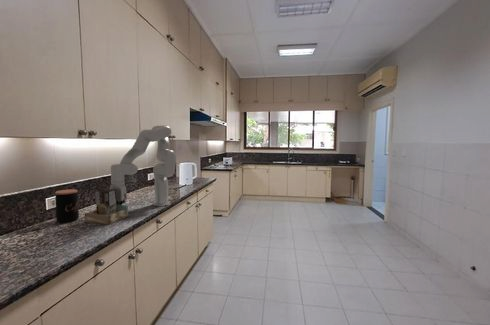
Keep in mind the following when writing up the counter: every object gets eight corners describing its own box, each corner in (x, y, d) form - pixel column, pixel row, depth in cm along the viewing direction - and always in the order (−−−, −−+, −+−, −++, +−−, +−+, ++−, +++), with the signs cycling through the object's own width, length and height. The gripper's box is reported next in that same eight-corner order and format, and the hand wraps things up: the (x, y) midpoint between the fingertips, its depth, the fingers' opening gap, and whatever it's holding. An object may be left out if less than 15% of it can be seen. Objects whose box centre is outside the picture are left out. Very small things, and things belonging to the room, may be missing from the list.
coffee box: (117, 214, 144) (116, 189, 143) (110, 218, 138) (109, 191, 137) (103, 213, 146) (103, 188, 144) (96, 217, 139) (95, 191, 138)
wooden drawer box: (104, 214, 151) (104, 207, 150) (126, 217, 147) (126, 209, 146) (85, 221, 137) (84, 213, 136) (109, 224, 133) (109, 216, 133)
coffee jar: (66, 224, 132) (65, 193, 131) (51, 222, 134) (50, 192, 133) (83, 218, 143) (82, 189, 141) (69, 216, 145) (67, 188, 143)
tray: (106, 213, 152) (105, 203, 151) (128, 215, 148) (128, 205, 148) (87, 220, 138) (87, 209, 138) (111, 223, 135) (110, 212, 134)
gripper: (103, 183, 148) (104, 211, 149) (123, 185, 144) (124, 213, 146) (112, 181, 155) (113, 208, 157) (132, 182, 152) (132, 210, 153)
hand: (118, 210), depth 151 cm, fingers closed
